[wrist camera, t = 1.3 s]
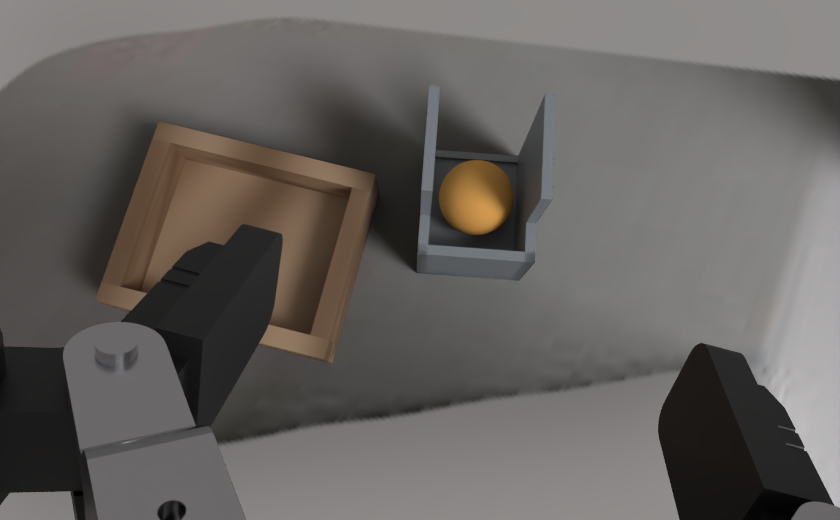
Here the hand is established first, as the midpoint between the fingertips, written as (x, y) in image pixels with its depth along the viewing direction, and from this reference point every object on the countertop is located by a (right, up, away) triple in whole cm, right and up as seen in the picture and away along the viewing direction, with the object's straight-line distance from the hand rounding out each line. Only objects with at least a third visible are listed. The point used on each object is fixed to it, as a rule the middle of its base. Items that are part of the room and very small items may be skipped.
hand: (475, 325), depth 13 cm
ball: (+2, +5, +23) cm, 24 cm away
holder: (+2, +4, +26) cm, 26 cm away
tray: (-10, +2, +26) cm, 28 cm away
